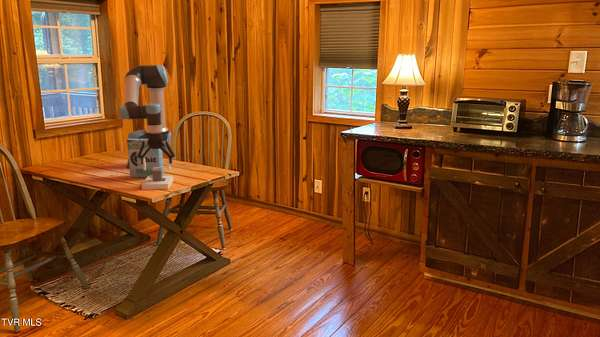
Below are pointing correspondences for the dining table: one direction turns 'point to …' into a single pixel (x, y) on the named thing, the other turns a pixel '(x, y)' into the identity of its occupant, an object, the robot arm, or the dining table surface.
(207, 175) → the dining table surface
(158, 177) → the plug
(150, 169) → the gum box
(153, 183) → the socket
